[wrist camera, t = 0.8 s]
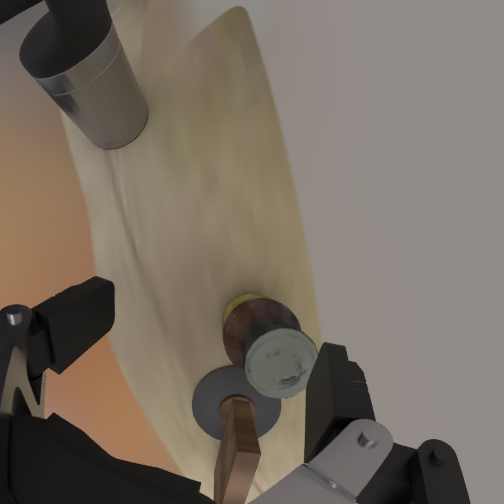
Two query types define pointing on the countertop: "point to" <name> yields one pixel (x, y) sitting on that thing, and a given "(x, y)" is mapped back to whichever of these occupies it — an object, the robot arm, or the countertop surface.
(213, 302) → the countertop surface
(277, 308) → the sauce bottle
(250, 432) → the brown wooden block
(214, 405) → the base
